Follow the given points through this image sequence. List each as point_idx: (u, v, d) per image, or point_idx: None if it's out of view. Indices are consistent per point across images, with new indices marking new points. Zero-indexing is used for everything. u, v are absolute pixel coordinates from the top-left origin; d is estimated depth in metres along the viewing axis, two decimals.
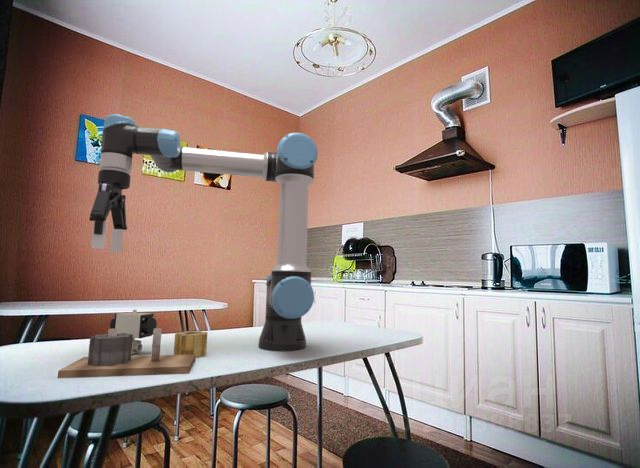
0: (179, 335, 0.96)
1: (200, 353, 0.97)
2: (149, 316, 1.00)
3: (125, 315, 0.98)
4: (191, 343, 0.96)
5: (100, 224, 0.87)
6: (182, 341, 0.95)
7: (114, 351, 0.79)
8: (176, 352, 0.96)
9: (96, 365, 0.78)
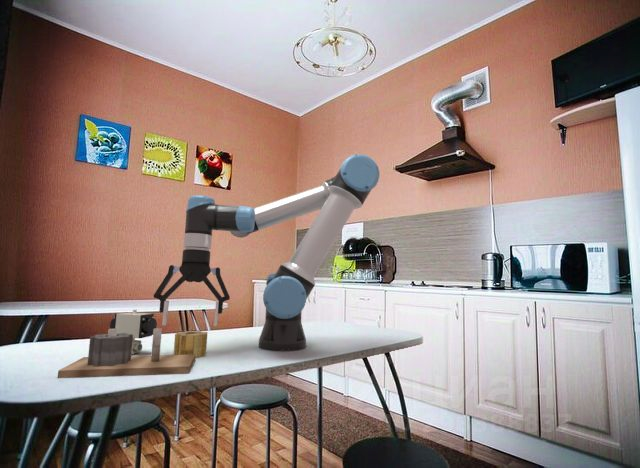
0: (179, 335, 0.96)
1: (200, 353, 0.97)
2: (149, 316, 1.00)
3: (125, 315, 0.98)
4: (191, 343, 0.96)
5: (160, 304, 0.98)
6: (182, 341, 0.95)
7: (114, 351, 0.79)
8: (176, 352, 0.96)
9: (96, 365, 0.78)
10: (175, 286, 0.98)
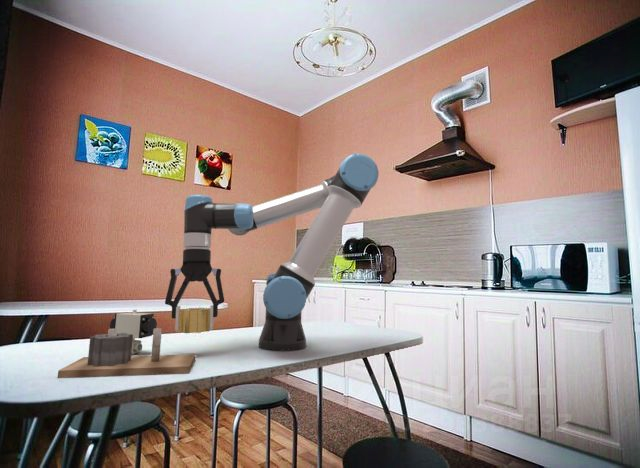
0: (183, 311, 0.97)
1: (204, 328, 0.98)
2: (149, 316, 1.00)
3: (125, 315, 0.98)
4: (195, 318, 0.96)
5: None
6: (186, 316, 0.96)
7: (114, 351, 0.79)
8: (180, 327, 0.97)
9: (96, 365, 0.78)
10: (182, 289, 0.99)
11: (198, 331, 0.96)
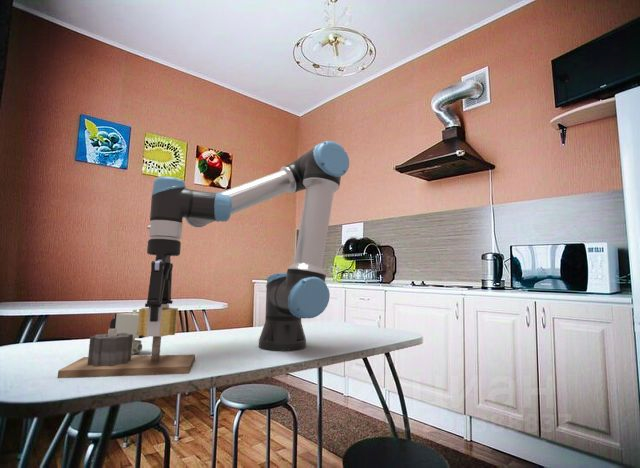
0: (166, 310, 0.84)
1: None
2: None
3: (125, 315, 0.98)
4: None
5: (156, 311, 0.80)
6: (174, 316, 0.85)
7: (114, 351, 0.79)
8: None
9: (96, 365, 0.78)
10: (163, 286, 0.84)
11: None
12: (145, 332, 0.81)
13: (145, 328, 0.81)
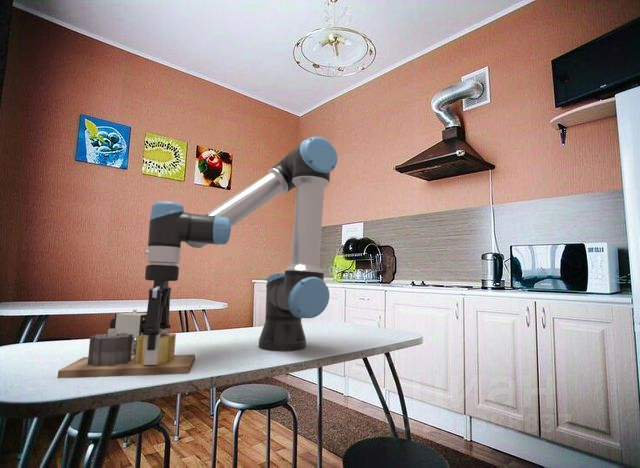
0: (163, 338, 0.83)
1: None
2: None
3: (125, 315, 0.98)
4: None
5: (154, 339, 0.80)
6: (172, 342, 0.84)
7: (114, 351, 0.79)
8: None
9: (96, 365, 0.78)
10: (161, 313, 0.83)
11: None
12: (142, 360, 0.80)
13: (142, 356, 0.81)
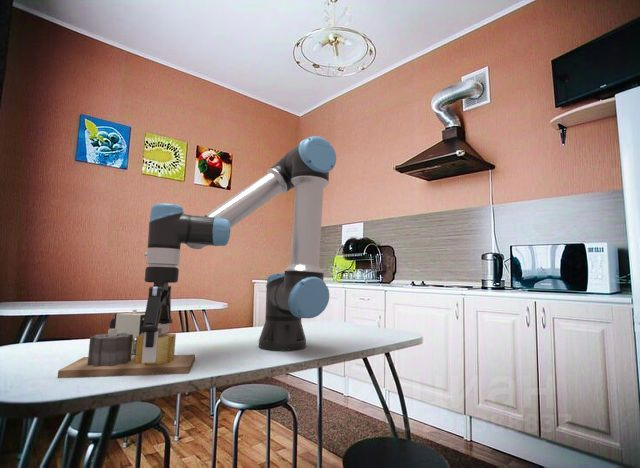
0: (163, 338, 0.83)
1: None
2: None
3: (125, 315, 0.98)
4: None
5: (152, 336, 0.78)
6: (172, 342, 0.84)
7: (114, 351, 0.79)
8: None
9: (96, 365, 0.78)
10: (160, 312, 0.82)
11: None
12: None
13: None
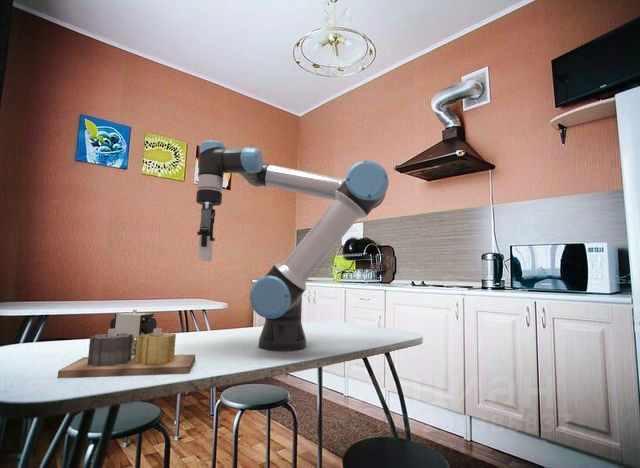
0: (163, 338, 0.83)
1: None
2: (149, 316, 1.00)
3: (125, 315, 0.98)
4: None
5: (206, 238, 1.00)
6: (172, 342, 0.84)
7: (114, 351, 0.79)
8: None
9: (96, 365, 0.78)
10: (210, 223, 1.04)
11: None
12: (142, 360, 0.80)
13: (142, 356, 0.81)
